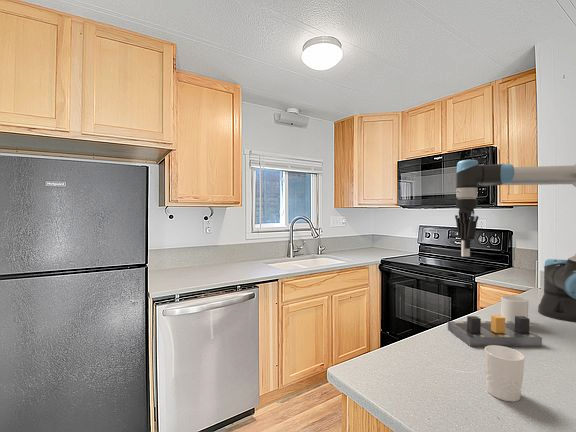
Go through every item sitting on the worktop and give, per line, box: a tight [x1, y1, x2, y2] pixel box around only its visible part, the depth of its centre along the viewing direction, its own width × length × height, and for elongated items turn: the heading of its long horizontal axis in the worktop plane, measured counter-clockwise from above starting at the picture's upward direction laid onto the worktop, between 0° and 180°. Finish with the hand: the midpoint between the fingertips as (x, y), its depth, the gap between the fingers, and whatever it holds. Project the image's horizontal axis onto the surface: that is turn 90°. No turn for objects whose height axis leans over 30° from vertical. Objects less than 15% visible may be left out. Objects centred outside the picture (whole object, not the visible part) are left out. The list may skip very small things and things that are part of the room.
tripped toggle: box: [490, 314, 505, 333], centre depth 104 cm, size 3×2×5 cm
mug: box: [500, 294, 529, 323], centre depth 119 cm, size 12×8×10 cm
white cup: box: [484, 345, 526, 403], centre depth 75 cm, size 8×8×10 cm
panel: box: [447, 315, 543, 348], centre depth 107 cm, size 23×14×8 cm, turn 90°
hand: (465, 256), depth 129 cm, fingers closed
